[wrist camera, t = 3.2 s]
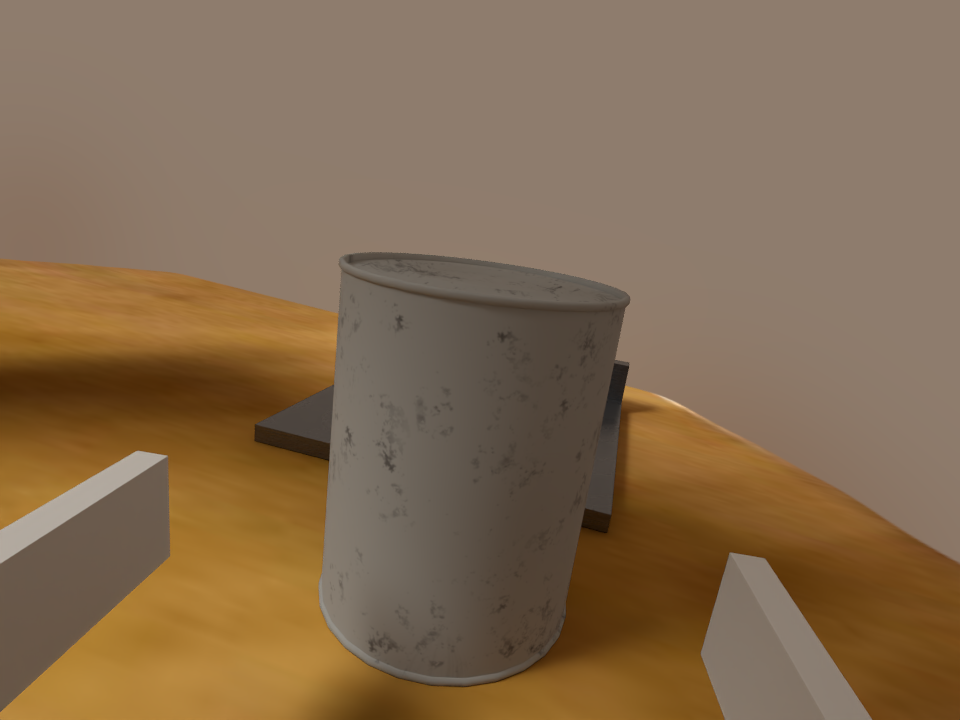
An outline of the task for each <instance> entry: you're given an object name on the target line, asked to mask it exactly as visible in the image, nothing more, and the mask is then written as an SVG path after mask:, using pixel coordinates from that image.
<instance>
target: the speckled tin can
mask: <svg viewBox="0 0 960 720" xmlns="http://www.w3.org/2000/svg"><path fill="white" fill-rule="evenodd" d="M339 266H340V268H341V269H342V270H341V285H340V287H341V288H340V302H339V317H338V333H337V348H336V364H335V380H334V395H333V411H332V427H331V443H330V458H329V474H328V490H327V505H326V521H325V537H324V552H323V568H322V574H321V578H320V581H319V601H320V608H321V610H322V613H323V615H324V618H325V620H326V623H327V625H328V627H329V629H330V630H331V631H332V633H333V634H334V635H335V636H336V638H337V639H338V640H339V641H340V642H341V644H342V645H343V646H344V647H345V648H346V649H347V650H349V651H350V652H351V653H353V654H354V655H355V656H357V657H358V658H359V659H361V660H362V661H364V662H365V663H366V664H368V665H369V666H372V667H374V668H376V669H378V670H381V671H383V672H385V673H387V674H390V675H392V676H394V677H396V678H400V679H404V680H408V681H413V682H417V683H422V684H426V685H431V686H459V687H466V686H472V685H478V684H484V683H491V682H497V681H499V680H502V679H504V678H507V677H509V676H512V675H514V674H517V673H519V672H522V671H524V670H526V669H527V668H528V667H530V666H531V665H532V664H534V663H535V662H537V661H538V660H539V659H541V658H542V657H544V656H545V655H546V653H547V652H548V651H549V649H550V648H551V647H552V645H553V644H554V643H555V642H556V640H557V639H558V638H559V635H560V632H561V629H562V626H563V623H564V620H565V617H566V599H567V594H568V589H569V584H570V579H571V574H572V569H573V564H574V559H575V554H576V549H577V544H578V539H579V534H580V530H581V525H582V520H583V515H584V510H585V505H586V500H587V495H588V490H589V485H590V480H591V475H592V470H593V465H594V460H595V455H596V450H597V446H598V441H599V436H600V431H601V426H602V421H603V416H604V411H605V406H606V401H607V396H608V391H609V386H610V381H611V376H612V371H613V366H614V362H615V357H616V351H617V347H618V342H619V337H620V332H621V327H622V322H623V317H624V312H625V307H627V306H628V304H629V303H630V296H629V295H628V294H627V293H626V292H624V291H621V290H619V289H617V288H614V287H611V286H608V285H605V284H602V283H598V282H594V281H591V280H586V279H583V278H579V277H574V276H569V275H565V274H560V273H555V272H549V271H544V270H539V269H533V268H527V267H521V266H515V265H509V264H502V263H495V262H488V261H480V260H472V259H463V258H454V257H445V256H435V255H422V254H408V253H407V254H406V253H382V252H380V253H379V252H372V253H371V252H369V253H354V254H348V255H344V256H343V257H341V258H340V259H339Z"/></svg>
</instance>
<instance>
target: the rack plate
mask: <svg viewBox="0 0 960 720" xmlns="http://www.w3.org/2000/svg"><path fill="white" fill-rule="evenodd" d="M628 369H629V363H628V362H623V361H618V360H615V362H614V366H613V371H612V376H611V381H610V386H609V391H608V396H607V401H606V406H605V411H604V416H603V421H602V426H601V431H600V436H599V441H598V446H597V450H596V455H595V460H594V465H593V470H592V475H591V480H590V485H589V490H588V495H587V500H586V505H585V510H584V515H583V520H582V525H581V526H583V527H587V528H591V529H594V530H598V531H602V532H606V533H607V532H608V527H609V523H610V518H611V512H612V501H613V490H614V479H615V468H616V458H617V447H618V436H619V425H620V414H621V403H622V398H623V393H624V388H625V383H626V378H627V374H628ZM333 395H334V385H332V386H330V387H328V388H326V389H324V390H322V391H320V392H318V393H316V394H314V395H312V396H310V397H308V398H306V399H304V400H302V401H301V402H299V403H297V404H295V405H293V406H291V407H289V408H287V409H285V410H283V411H281V412H279V413H277V414H275V415H273V416H271V417H269V418H267V419H265V420H263V421H261V422H259V423H257V424H255V441H258V442H262V443H265V444H269V445H273V446H277V447H281V448H285V449H288V450H292V451H296V452H300V453H304V454H308V455H311V456H315V457H319V458H323V459H327V460H329V458H330V443H331V427H332V411H333Z"/></svg>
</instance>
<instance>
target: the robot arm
mask: <svg viewBox="0 0 960 720" xmlns="http://www.w3.org/2000/svg"><path fill="white" fill-rule="evenodd" d="M169 557H170V533H169V485H168V456H166V455H160V454H154V453H148V452H142V451H136V452H134V453H132V454H131V455H129V456H127V457H126V458H124V459H122V460H120V461H119V462H117V463H115V464H114V465H112V466H110V467H108V468H107V469H105V470H103V471H101V472H100V473H98V474H96V475H95V476H93V477H91V478H89V479H88V480H86V481H84V482H83V483H81V484H79V485H77V486H76V487H74V488H72V489H70V490H69V491H67V492H65V493H64V494H62V495H60V496H58V497H57V498H55V499H53V500H52V501H50V502H48V503H46V504H45V505H43V506H41V507H39V508H38V509H36V510H34V511H33V512H31V513H29V514H27V515H26V516H24V517H22V518H21V519H19V520H17V521H15V522H14V523H12V524H10V525H8V526H7V527H5V528H3V529H2V530H0V712H1V711H2V710H3V709H4V708H5V707H6V706H7V705H8V704H10V703H11V702H12V701H13V700H14V699H15V698H16V697H17V696H18V695H19V694H20V693H22V692H23V691H24V690H25V689H26V688H27V687H28V686H29V685H30V684H31V683H32V682H33V681H35V680H36V679H37V678H38V677H39V676H40V675H41V674H42V673H43V672H44V671H45V670H47V669H48V668H49V667H50V666H51V665H52V664H53V663H54V662H55V661H56V660H57V659H59V658H60V657H61V656H62V655H63V654H64V653H65V652H66V651H67V650H68V649H69V648H71V647H72V646H73V645H74V644H75V643H76V642H77V641H78V640H79V639H80V638H81V637H82V636H84V635H85V634H86V633H87V632H88V631H89V630H90V629H91V628H92V627H93V626H94V625H96V624H97V623H98V622H99V621H100V620H101V619H102V618H103V617H104V616H105V615H106V614H108V613H109V612H110V611H111V610H112V609H113V608H114V607H115V606H116V605H117V604H118V603H120V602H121V601H122V600H123V599H124V598H125V597H126V596H127V595H128V594H129V593H130V592H131V591H133V590H134V589H135V588H136V587H137V586H138V585H139V584H140V583H141V582H142V581H143V580H145V579H146V578H147V577H148V576H149V575H150V574H151V573H152V572H153V571H154V570H155V569H157V568H158V567H159V566H160V565H161V564H162V563H163V562H164V561H165V560H166V559H167V558H169ZM701 656H702V659H703V662H704V664H705V667H706V670H707V672H708V675H709V678H710V681H711V683H712V686H713V689H714V691H715V694H716V697H717V699H718V702H719V705H720V707H721V710H722V713H723V715H724V718H725V720H872V718H871V717H870V715H869V714H868V712H867V711H866V709H865V708H864V706H863V705H862V703H861V702H860V700H859V699H858V697H857V696H856V694H855V693H854V691H853V690H852V688H851V687H850V685H849V684H848V682H847V681H846V679H845V678H844V676H843V675H842V673H841V672H840V670H839V669H838V667H837V666H836V664H835V663H834V661H833V660H832V658H831V657H830V655H829V654H828V652H827V651H826V649H825V648H824V646H823V645H822V643H821V642H820V640H819V639H818V637H817V636H816V634H815V633H814V631H813V630H812V628H811V627H810V625H809V624H808V622H807V621H806V619H805V618H804V616H803V615H802V613H801V612H800V610H799V609H798V607H797V606H796V604H795V603H794V601H793V600H792V598H791V597H790V595H789V594H788V592H787V591H786V589H785V588H784V586H783V585H782V583H781V582H780V580H779V579H778V577H777V576H776V574H775V573H774V571H773V570H772V568H771V567H770V565H769V564H768V562H767V561H766V559H765V558H760V557H754V556H748V555H742V554H737V553H731V552H730V553H729V557H728V560H727V564H726V567H725V571H724V574H723V578H722V581H721V585H720V588H719V592H718V595H717V599H716V602H715V606H714V609H713V612H712V616H711V619H710V623H709V626H708V630H707V633H706V637H705V640H704V644H703V647H702V651H701Z"/></svg>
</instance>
